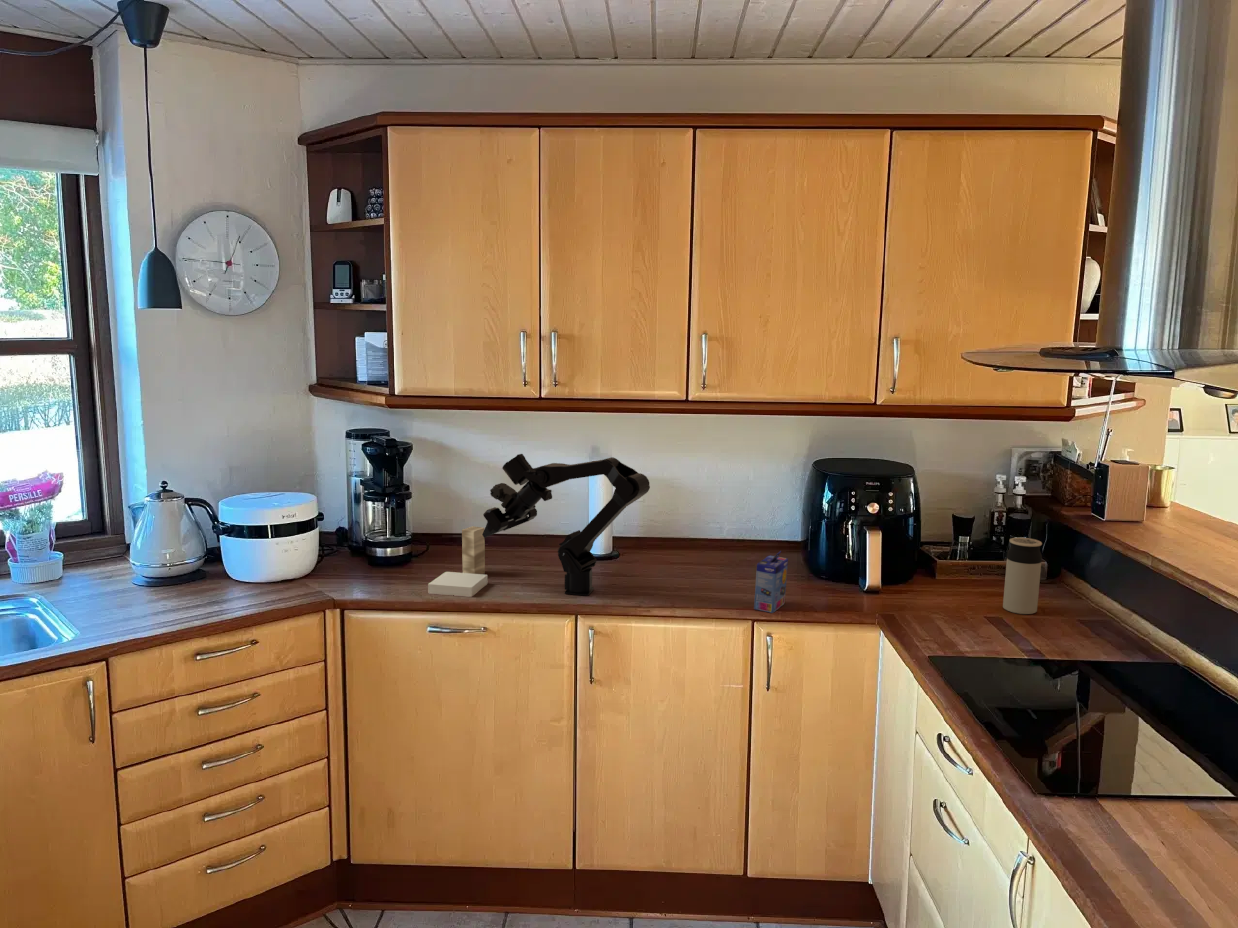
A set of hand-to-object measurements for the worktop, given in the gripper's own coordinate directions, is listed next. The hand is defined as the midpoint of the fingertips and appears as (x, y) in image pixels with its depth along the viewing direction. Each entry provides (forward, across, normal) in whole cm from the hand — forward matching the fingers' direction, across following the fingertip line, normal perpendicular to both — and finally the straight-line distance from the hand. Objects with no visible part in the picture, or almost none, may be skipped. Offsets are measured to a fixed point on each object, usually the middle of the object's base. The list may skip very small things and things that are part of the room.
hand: (493, 532), depth 253 cm
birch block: (+14, 0, +4) cm, 14 cm away
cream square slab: (+11, +13, +8) cm, 19 cm away
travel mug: (-85, -42, +102) cm, 139 cm away
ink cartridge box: (-45, -13, +62) cm, 78 cm away
